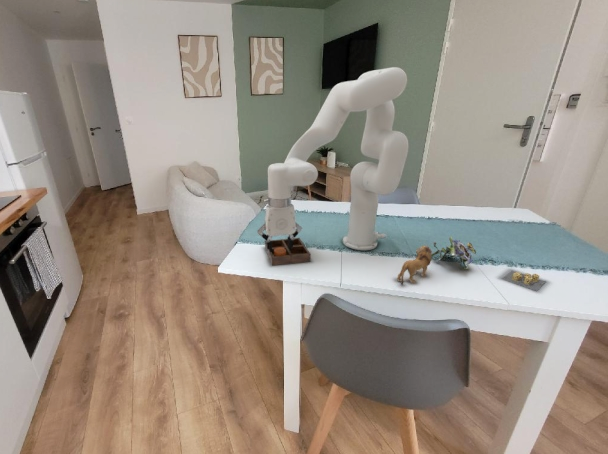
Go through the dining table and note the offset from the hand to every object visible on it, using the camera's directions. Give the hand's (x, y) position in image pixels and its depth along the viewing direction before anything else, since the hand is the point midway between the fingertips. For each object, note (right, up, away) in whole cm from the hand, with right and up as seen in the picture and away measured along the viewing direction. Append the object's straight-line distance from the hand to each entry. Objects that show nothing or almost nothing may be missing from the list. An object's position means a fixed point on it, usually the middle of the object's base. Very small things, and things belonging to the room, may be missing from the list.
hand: (279, 249), depth 103 cm
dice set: (+71, -8, -16) cm, 73 cm away
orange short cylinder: (0, -3, +1) cm, 3 cm away
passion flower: (+56, -5, -7) cm, 56 cm away
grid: (+3, -2, +5) cm, 6 cm away
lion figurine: (+40, -8, -12) cm, 43 cm away
